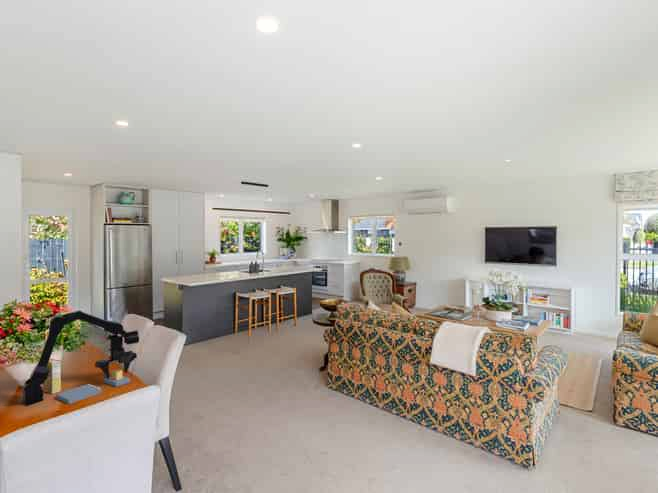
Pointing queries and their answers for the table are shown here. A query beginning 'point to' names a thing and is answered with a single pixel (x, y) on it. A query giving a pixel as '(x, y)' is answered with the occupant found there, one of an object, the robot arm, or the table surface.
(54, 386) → the candy box
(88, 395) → the blue-grey flat slab
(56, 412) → the table surface
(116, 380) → the stub
